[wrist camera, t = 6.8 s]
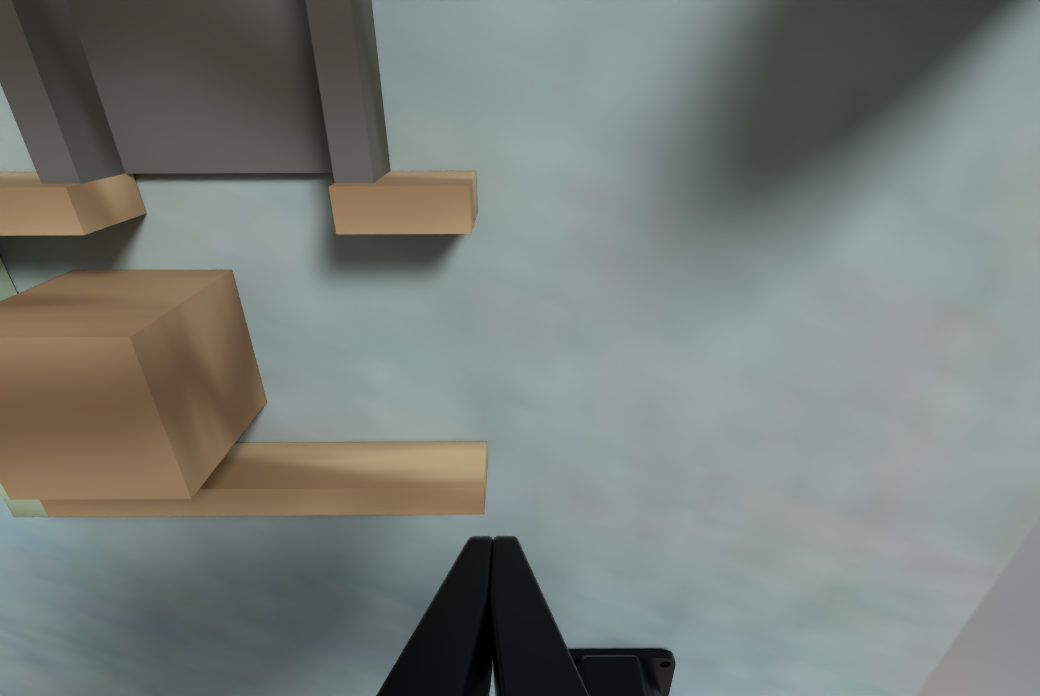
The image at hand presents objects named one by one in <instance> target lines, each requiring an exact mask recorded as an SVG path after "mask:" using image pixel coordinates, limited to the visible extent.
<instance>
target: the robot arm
mask: <svg viewBox="0 0 1040 696" xmlns="http://www.w3.org/2000/svg"><path fill="white" fill-rule="evenodd" d="M492 664H493V671H494V686H495V696H669V691H670V687H671V682H672V678H673V673H674V669H675V659H674V656H673V653H672V652H671V651H668V650H593V651H568V648H567V646H566V644H565V642H564V640H563V637H562V635H561V633H560V631H559V629H558V627H557V624H556V622H555V620H554V618H553V616H552V613H551V611H550V609H549V607H548V605H547V602H546V600H545V598H544V596H543V594H542V591H541V589H540V587H539V585H538V583H537V580H536V578H535V576H534V574H533V572H532V569H531V567H530V565H529V563H528V561H527V559H526V556H525V554H524V552H523V550H522V548H521V545H520V543H519V541H518V539H517V538H516V537H515V536H496V537H495V538H494V539H492V537H490V536H474V537H471V538H469V540H468V541H467V543H466V544H465V546H464V548H463V549H462V551H461V553H460V554H459V556H458V558H457V560H456V561H455V563H454V565H453V566H452V568H451V570H450V571H449V573H448V575H447V577H446V578H445V580H444V582H443V583H442V585H441V587H440V588H439V590H438V592H437V593H436V595H435V597H434V599H433V600H432V602H431V604H430V605H429V607H428V609H427V610H426V612H425V614H424V616H423V617H422V619H421V621H420V622H419V624H418V626H417V627H416V629H415V631H414V633H413V634H412V636H411V638H410V639H409V641H408V643H407V644H406V646H405V648H404V649H403V651H402V653H401V655H400V656H399V658H398V660H397V661H396V663H395V665H394V666H393V668H392V670H391V672H390V673H389V675H388V677H387V678H386V680H385V682H384V683H383V685H382V687H381V689H380V690H379V692H378V694H377V695H376V696H489V693H490V685H491V676H492Z"/></svg>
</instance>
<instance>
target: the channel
mask: <svg viewBox="0 0 1040 696" xmlns="http://www.w3.org/2000/svg"><path fill="white" fill-rule="evenodd" d="M0 84H1V86H2V88H3V91H4V93H5V96H6V98H7V101H8V103H9V105H10V108H11V110H12V113H13V115H14V118H15V120H16V122H17V125H18V127H19V130H20V132H21V135H22V137H23V140H24V142H25V144H26V147H27V149H28V152H29V154H30V157H31V159H32V161H33V164H34V166H35V169H36V171H37V172H0V236H14V235H87V234H89V233H92V232H95V231H98V230H101V229H104V228H106V227H109V226H112V225H115V224H118V223H121V222H123V221H126V220H129V219H132V218H135V217H138V216H140V215H143V214H146V212H145V209H144V205H143V202H142V199H141V196H140V193H139V190H138V187H137V184H136V181H135V178H134V175H133V173H333V176H334V182H335V183H334V184H332V185H330V186H328V188H329V194H330V200H331V206H332V212H333V218H334V224H335V230H336V234H471V233H472V230H473V227H474V223H475V220H476V217H477V213H478V205H477V180H476V171H390V163H389V154H388V145H387V136H386V127H385V118H384V109H383V100H382V91H381V82H380V73H379V64H378V55H377V46H376V37H375V28H374V19H373V10H372V1H371V0H0ZM16 294H17V292H16V290H15V287H14V285H13V283H12V281H11V279H10V277H9V275H8V273H7V271H6V269H5V266H4V264H3V262H2V260H1V258H0V301H2V300H4V299H7V298H9V297H11V296H14V295H16ZM487 469H488V462H487V442H337V443H235V444H234V445H233V446H232V448H231V449H230V450H229V451H228V453H227V454H226V455H225V457H224V458H223V459H222V460H221V462H220V463H219V464H218V465H217V467H216V468H215V469H214V471H213V472H212V473H211V474H210V476H209V477H208V478H207V480H206V481H205V482H204V483H203V485H202V486H201V487H200V489H199V490H198V491H197V492H196V494H195V495H194V496H193V498H192V499H62V500H10V498H9V497H8V495H7V493H6V491H5V490H4V488H3V486H2V485H1V483H0V495H1V497H2V498H3V500H4V502H5V503H6V505H7V507H8V508H9V510H10V511H11V513H12V515H13V516H14V517H122V516H286V515H450V514H484V509H485V495H486V482H487Z"/></svg>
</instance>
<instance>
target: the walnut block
mask: <svg viewBox="0 0 1040 696" xmlns="http://www.w3.org/2000/svg"><path fill="white" fill-rule="evenodd" d="M266 403H267V400H266V396H265V392H264V388H263V384H262V381H261V377H260V373H259V369H258V365H257V362H256V358H255V354H254V350H253V347H252V343H251V339H250V335H249V331H248V328H247V324H246V320H245V316H244V312H243V309H242V305H241V301H240V297H239V294H238V290H237V286H236V282H235V278H234V275H233V271H232V270H73V271H70V272H68V273H66V274H63V275H61V276H59V277H56V278H54V279H51V280H49V281H47V282H44V283H42V284H40V285H37V286H35V287H33V288H30V289H28V290H26V291H23V292H21V293H18V294H16V295H14V296H11V297H9V298H7V299H4V300H2V301H0V483H1V485H2V486H3V488H4V490H5V491H6V493H7V495H8V497H9V498H10V500H62V499H192V498H193V496H194V495H195V494H196V492H197V491H198V490H199V489H200V487H201V486H202V485H203V483H204V482H205V481H206V480H207V478H208V477H209V476H210V474H211V473H212V472H213V471H214V469H215V468H216V467H217V465H218V464H219V463H220V462H221V460H222V459H223V458H224V457H225V455H226V454H227V453H228V451H229V450H230V449H231V448H232V446H233V445H234V444H235V442H236V441H237V440H238V439H239V437H240V436H241V435H242V433H243V432H244V431H245V430H246V428H247V427H248V426H249V424H250V423H251V422H252V421H253V419H254V418H255V417H256V415H257V414H258V413H259V412H260V410H261V409H262V408H263V406H264V405H265V404H266Z"/></svg>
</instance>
